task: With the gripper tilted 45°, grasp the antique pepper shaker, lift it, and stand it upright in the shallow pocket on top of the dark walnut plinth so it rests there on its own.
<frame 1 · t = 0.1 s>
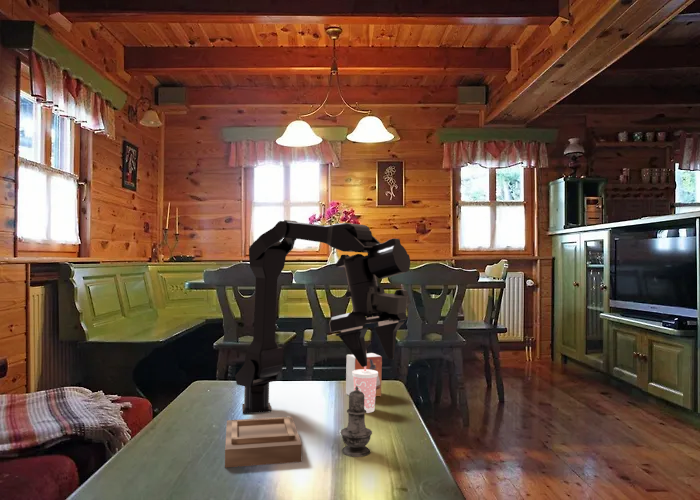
hand: (378, 362, 98), 15 cm above the table, tool pointing down, fingers open, 9 cm apart
walnut plinth: (261, 447, 94), on the table
small box: (363, 396, 133), on the table
beverage cup: (364, 410, 119), on the table
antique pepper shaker: (356, 452, 93), on the table
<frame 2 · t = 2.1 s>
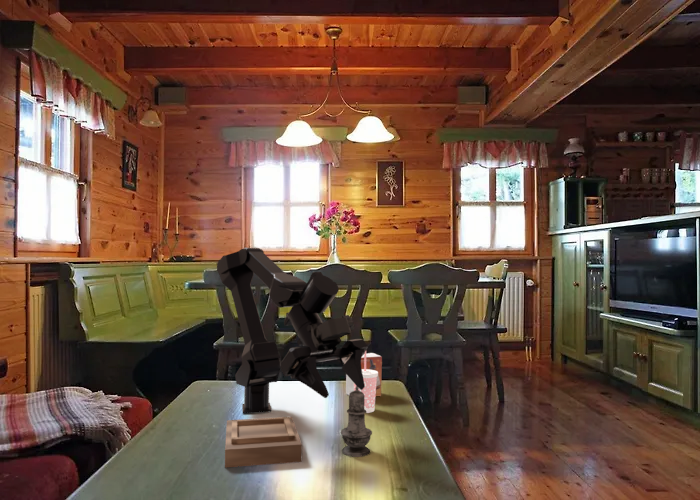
hand: (345, 392, 96), 10 cm above the table, tool tilted 45°, fingers open, 9 cm apart
nothing on the table moved.
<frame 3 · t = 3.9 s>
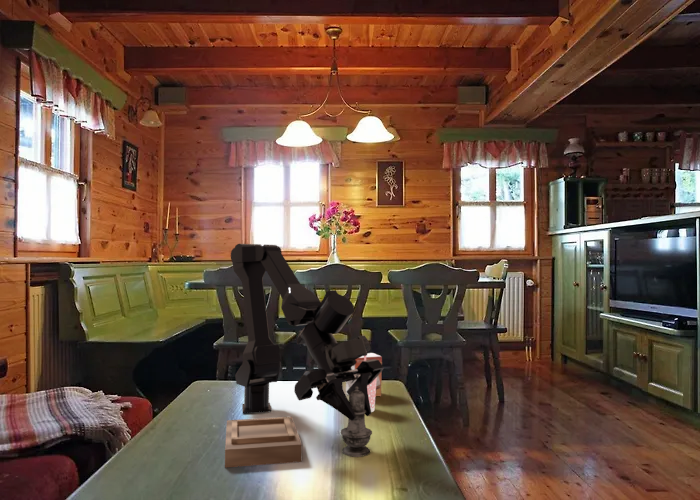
hand: (361, 417, 92), 7 cm above the table, tool tilted 45°, fingers closed on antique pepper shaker, 4 cm apart
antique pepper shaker: (356, 452, 93), on the table, touching gripper
everything else where it was.
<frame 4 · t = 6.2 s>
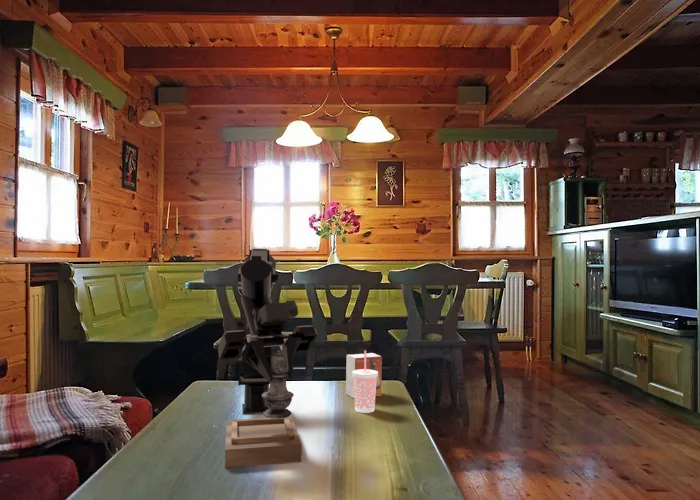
hand: (280, 379, 93), 13 cm above the table, tool tilted 45°, fingers closed on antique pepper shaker, 4 cm apart
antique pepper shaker: (277, 414, 94), point 6 cm above the table, touching gripper
everything else where it was.
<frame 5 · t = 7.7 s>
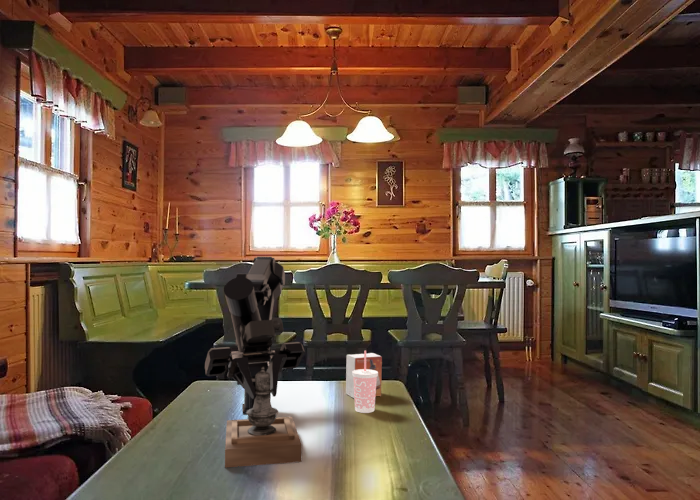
hand: (264, 396, 94), 10 cm above the table, tool tilted 45°, fingers closed on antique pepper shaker, 4 cm apart
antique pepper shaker: (261, 431, 95), point 3 cm above the table, touching gripper
everything else where it was.
when the fingers open (10 cm above the table, at t = 8.4 s): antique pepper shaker stays where it is, resting on walnut plinth.
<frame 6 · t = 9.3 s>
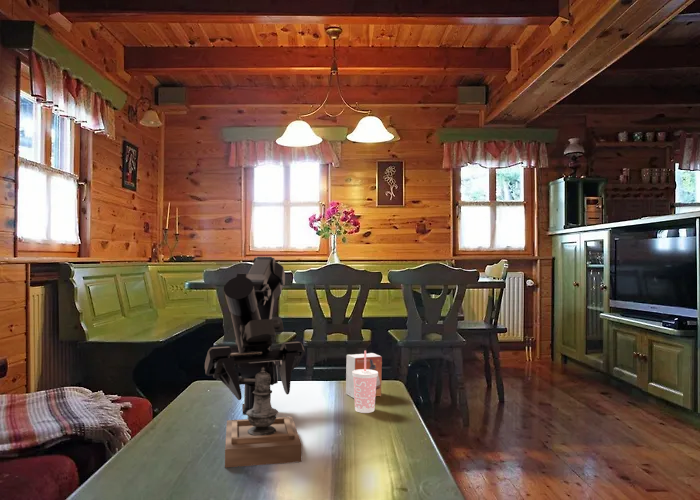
hand: (264, 396, 94), 10 cm above the table, tool tilted 45°, fingers open, 9 cm apart
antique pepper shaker: (261, 432, 95), point 3 cm above the table, touching walnut plinth
everything else where it was.
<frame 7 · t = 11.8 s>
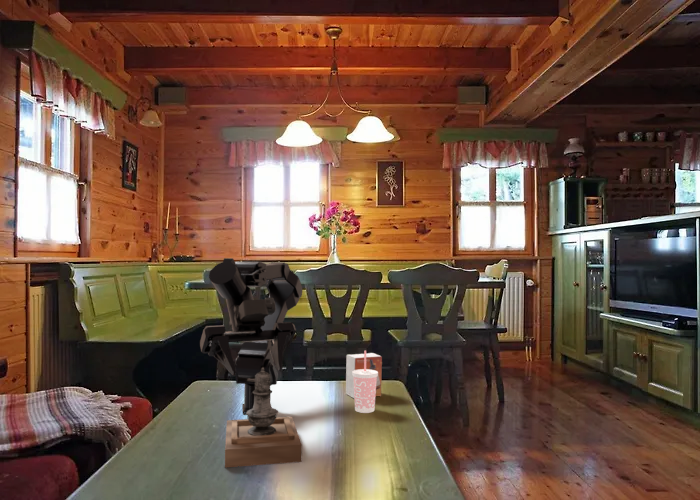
hand: (257, 372, 98), 13 cm above the table, tool tilted 45°, fingers open, 9 cm apart
nothing on the table moved.
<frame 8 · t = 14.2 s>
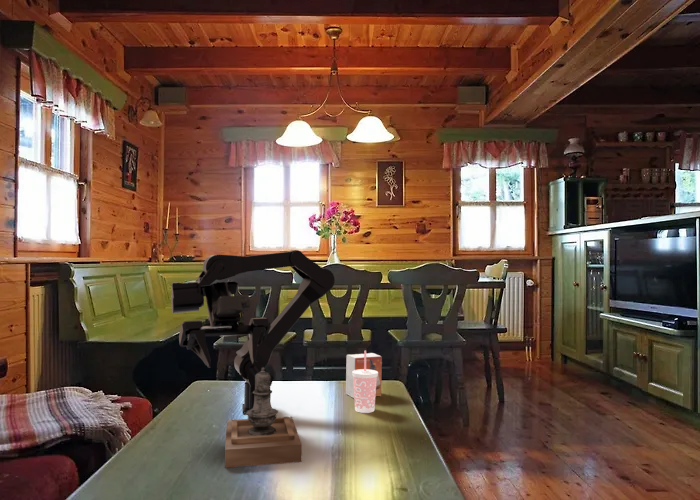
hand: (232, 364, 104), 14 cm above the table, tool tilted 45°, fingers open, 9 cm apart
nothing on the table moved.
at the end: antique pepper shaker inside the target area on the walnut plinth (0.2 cm from its centre), point 2.8 cm above the walnut plinth's base; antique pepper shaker tilted 0°; the gripper is holding nothing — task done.
